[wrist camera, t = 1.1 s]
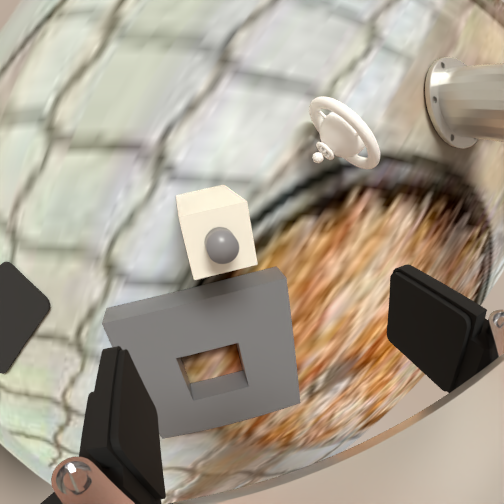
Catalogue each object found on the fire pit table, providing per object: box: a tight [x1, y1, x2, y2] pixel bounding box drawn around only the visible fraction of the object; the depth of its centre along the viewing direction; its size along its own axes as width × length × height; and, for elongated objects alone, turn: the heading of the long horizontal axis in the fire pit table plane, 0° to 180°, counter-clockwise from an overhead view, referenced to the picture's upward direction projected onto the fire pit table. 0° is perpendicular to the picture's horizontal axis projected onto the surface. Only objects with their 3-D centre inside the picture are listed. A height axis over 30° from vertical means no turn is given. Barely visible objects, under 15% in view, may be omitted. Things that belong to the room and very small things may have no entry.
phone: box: [0, 262, 50, 374], centre depth 27 cm, size 7×1×15 cm
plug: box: [176, 185, 257, 280], centre depth 24 cm, size 4×4×10 cm
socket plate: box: [102, 267, 300, 439], centre depth 33 cm, size 18×18×3 cm
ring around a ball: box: [309, 97, 380, 169], centre depth 26 cm, size 8×6×8 cm
